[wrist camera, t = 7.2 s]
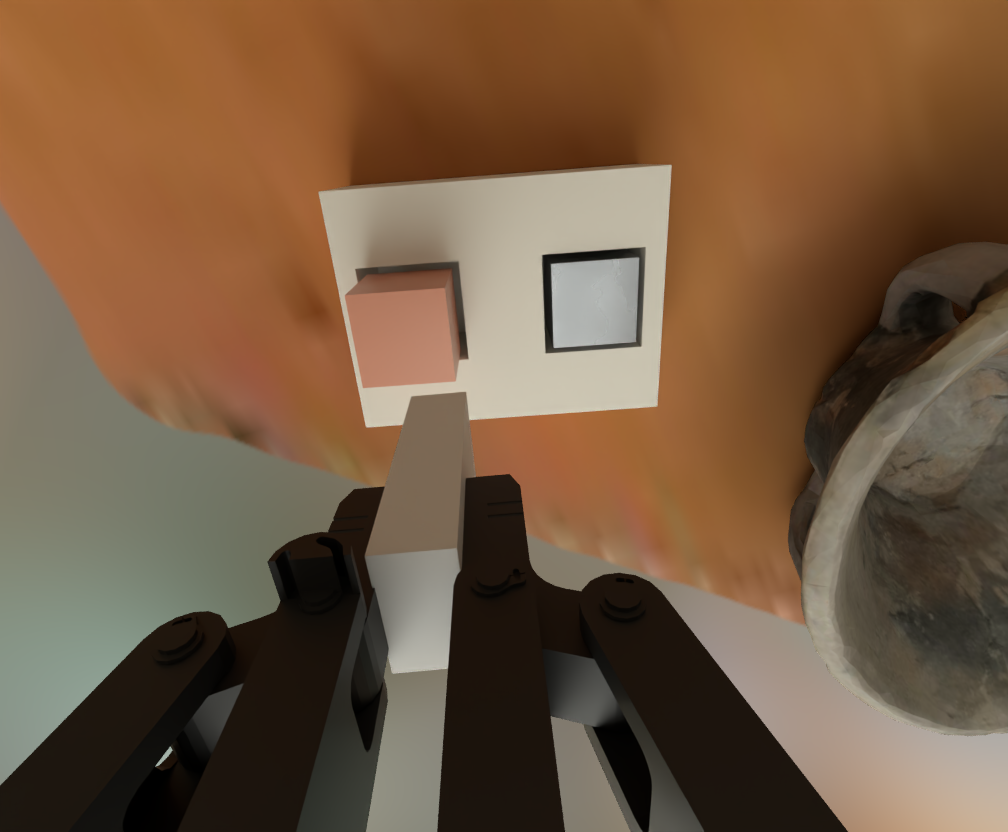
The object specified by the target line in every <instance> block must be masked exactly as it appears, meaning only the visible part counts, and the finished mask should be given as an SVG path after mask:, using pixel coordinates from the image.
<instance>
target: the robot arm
mask: <svg viewBox="0 0 1008 832" xmlns="http://www.w3.org/2000/svg"><path fill="white" fill-rule="evenodd" d="M268 565H269V568H270V571H271V574H272V577H273V580H274V583H275V586H276V589H277V591H278V594H279V598H280V600H281V601H280V604H279V606H278V608H277V610H276V611H275V612H274V613H271V614H269V615H266V616H264V617H261V618H258V619H255V620H252V621H249V622H246V623H243V624H240V625H237V626H234V627H231V628H228V627H227V624H226V623H225V621H224V620H223V618H222V617H221V615H218V614H215V613H212V612H209V611H206V612H193V613H189V614H186V615H183V616H180V617H177V618H174V619H173V620H171V621H169V622H167V623H165V624H163V625H161V626H160V627H158V628H157V629H156V630H154V631H153V632H152V633H151V634H149V635H148V636H147V637H146V638H145V639H143V641H142V642H140V644H138V645H137V647H136V648H135V649H134V650H133V651H132V652H131V653H130V654H129V655H128V656H127V657H126V658H125V659H124V660H123V661H122V662H121V663H120V664H119V665H118V666H117V667H116V668H115V669H114V670H113V671H112V672H111V673H110V674H109V675H108V676H107V677H106V678H105V679H104V680H103V681H102V682H101V683H100V684H99V685H98V686H97V687H96V688H95V689H94V691H92V692H91V694H89V696H88V697H87V698H86V699H85V700H84V701H83V702H82V703H81V704H80V705H79V706H78V707H77V708H76V709H75V710H74V711H73V712H72V713H71V714H70V715H69V716H68V717H67V718H66V719H65V720H64V721H63V722H62V723H61V724H60V725H59V726H58V727H57V728H56V729H55V730H54V731H53V732H52V733H51V734H50V735H49V736H48V737H47V738H46V739H45V740H44V742H42V744H41V745H40V746H39V747H38V748H37V749H36V750H35V751H34V752H33V753H32V754H31V755H30V756H29V757H28V758H27V759H26V760H25V761H24V762H23V763H22V764H21V765H20V766H19V767H18V768H17V769H16V770H15V771H14V772H13V773H12V774H11V775H10V776H9V777H8V778H7V779H6V780H5V781H4V782H3V783H2V784H1V785H0V832H366V828H367V821H368V816H369V809H370V804H371V798H372V792H373V786H374V780H375V774H376V768H377V762H378V756H379V750H380V744H381V738H382V732H383V725H384V720H385V714H386V708H387V702H388V699H387V688H386V684H385V680H384V672H385V667H386V661H387V656H388V657H389V661H390V666H391V670H392V673H404V672H415V671H426V670H438V669H448V678H447V693H446V708H445V723H444V739H443V753H442V754H443V755H442V769H441V783H440V784H441V785H440V799H439V814H438V829H437V832H565V828H564V821H563V812H562V805H561V797H560V789H559V781H558V773H557V764H556V757H555V748H554V740H553V733H552V725H551V716H553V717H557V718H561V719H565V720H569V721H573V722H577V723H582V724H584V728H585V730H586V733H587V734H588V737H589V739H590V742H591V744H592V746H593V748H594V751H595V753H596V755H597V757H598V760H599V762H600V764H601V766H602V769H603V771H604V773H605V775H606V777H607V780H608V782H609V784H610V786H611V789H612V791H613V793H614V795H615V797H616V800H617V802H618V804H619V807H620V809H621V811H622V813H623V815H624V818H625V820H626V822H627V824H628V826H629V829H630V831H631V832H848V831H847V830H846V828H845V827H844V826H843V825H842V823H841V822H840V821H839V820H838V818H837V817H836V816H835V814H834V813H833V812H832V810H831V809H830V808H829V807H828V805H827V804H826V803H825V802H824V800H823V799H822V798H821V796H820V795H819V794H818V792H817V791H816V790H815V789H814V787H813V786H812V785H811V783H810V782H809V781H808V780H807V778H806V777H805V776H804V774H802V772H801V771H800V769H799V768H798V767H797V765H796V764H795V763H794V762H793V760H792V759H791V758H790V757H789V755H788V754H787V753H786V751H785V750H784V749H783V748H782V746H781V745H780V744H779V742H778V741H777V740H776V739H775V737H774V736H773V735H772V733H771V732H770V731H769V730H768V728H767V727H766V726H765V724H764V723H763V722H762V721H761V719H760V718H759V717H758V715H757V714H756V713H755V712H754V710H753V709H752V708H751V706H750V705H749V704H748V703H747V702H746V700H745V699H744V698H743V696H742V695H741V694H740V692H739V691H738V690H737V688H736V687H735V686H734V685H733V683H732V682H731V681H730V680H729V678H728V677H727V676H726V674H725V673H724V672H723V670H722V669H721V668H720V667H719V665H718V664H717V663H716V662H715V660H714V659H713V658H712V656H711V655H710V654H709V652H708V651H707V650H706V649H705V647H704V646H703V645H702V644H701V642H700V641H699V640H698V639H697V637H696V636H695V635H694V633H693V632H692V631H691V629H690V628H689V627H688V626H687V624H686V623H685V622H684V620H683V619H682V618H681V617H680V616H679V614H678V613H677V611H676V610H675V609H674V608H673V606H672V605H671V604H670V602H669V601H668V600H667V599H666V597H665V596H664V595H663V593H662V592H661V591H660V590H658V589H657V588H656V587H655V586H654V585H653V584H652V583H651V582H649V581H647V580H645V579H642V578H640V577H638V576H636V575H629V574H623V573H614V574H606V575H602V576H600V577H598V578H595V579H593V580H591V581H590V582H589V583H588V584H587V586H585V587H584V589H583V590H582V591H576V590H570V589H565V588H561V587H557V586H554V585H552V584H550V583H548V582H546V581H544V580H543V579H542V578H540V577H539V576H538V575H537V574H536V573H535V571H534V570H533V569H532V566H531V564H530V560H529V553H528V544H527V536H526V528H525V520H524V512H523V504H522V496H521V488H520V485H519V484H518V483H517V482H516V481H515V480H514V479H513V478H512V476H511V475H510V474H506V475H494V476H483V477H476V473H475V465H474V456H473V447H472V438H471V430H470V421H469V412H468V404H467V395H466V392H456V393H444V394H433V395H421V396H411V399H410V402H409V406H408V409H407V413H406V416H405V420H404V423H403V426H402V430H401V433H400V437H399V440H398V444H397V447H396V450H395V454H394V457H393V461H392V464H391V468H390V471H389V474H388V478H387V481H386V485H385V487H374V488H363V489H354V490H353V491H352V492H351V493H350V494H349V495H348V496H347V497H346V498H345V499H344V500H343V501H341V502H340V504H339V506H338V509H337V511H336V513H335V516H334V521H332V523H331V526H330V528H329V530H328V532H319V533H314V534H309V535H304V536H302V537H299V538H297V539H295V540H293V541H290V542H288V543H287V544H285V545H284V546H283V547H281V548H280V549H279V550H277V551H276V552H275V553H274V554H273V555H272V557H271V558H270V559H269V561H268ZM170 746H171V748H172V750H173V751H172V752H171V754H170V755H169V756H168V757H167V758H166V759H165V760H164V761H163V762H162V763H161V764H160V765H159V766H156V764H157V763H158V762H159V760H160V759H161V758H162V756H163V755H164V754H165V752H166V751H167V750H168V749H169V747H170ZM155 766H156V767H155Z"/></svg>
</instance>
